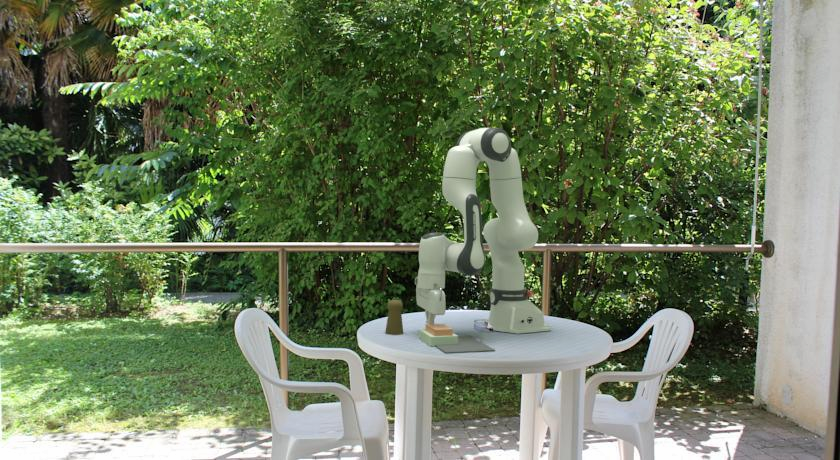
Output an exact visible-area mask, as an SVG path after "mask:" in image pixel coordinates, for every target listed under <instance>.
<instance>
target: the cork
mask: <svg viewBox="0 0 840 460" xmlns="http://www.w3.org/2000/svg"><path fill="white" fill-rule="evenodd" d="M386 307H387V310H388V314H387V319H386V327H385V334H387V335H392V336H395V335H396V336H398V335H403V334H404V327H403V317H402V310H403V307H404V304H403V302H402V300H398V299H392V300H388V302H387V304H386Z"/></svg>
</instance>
